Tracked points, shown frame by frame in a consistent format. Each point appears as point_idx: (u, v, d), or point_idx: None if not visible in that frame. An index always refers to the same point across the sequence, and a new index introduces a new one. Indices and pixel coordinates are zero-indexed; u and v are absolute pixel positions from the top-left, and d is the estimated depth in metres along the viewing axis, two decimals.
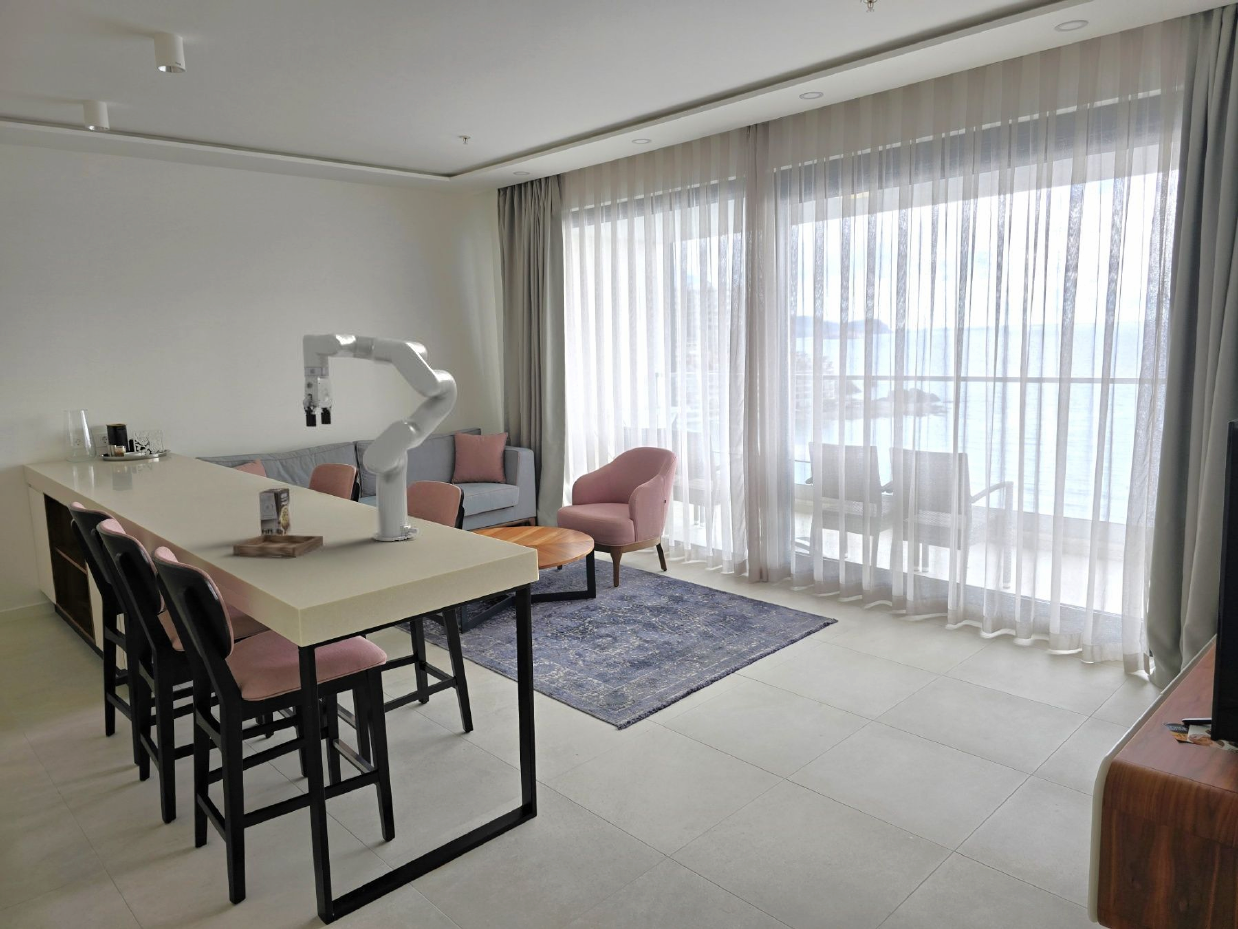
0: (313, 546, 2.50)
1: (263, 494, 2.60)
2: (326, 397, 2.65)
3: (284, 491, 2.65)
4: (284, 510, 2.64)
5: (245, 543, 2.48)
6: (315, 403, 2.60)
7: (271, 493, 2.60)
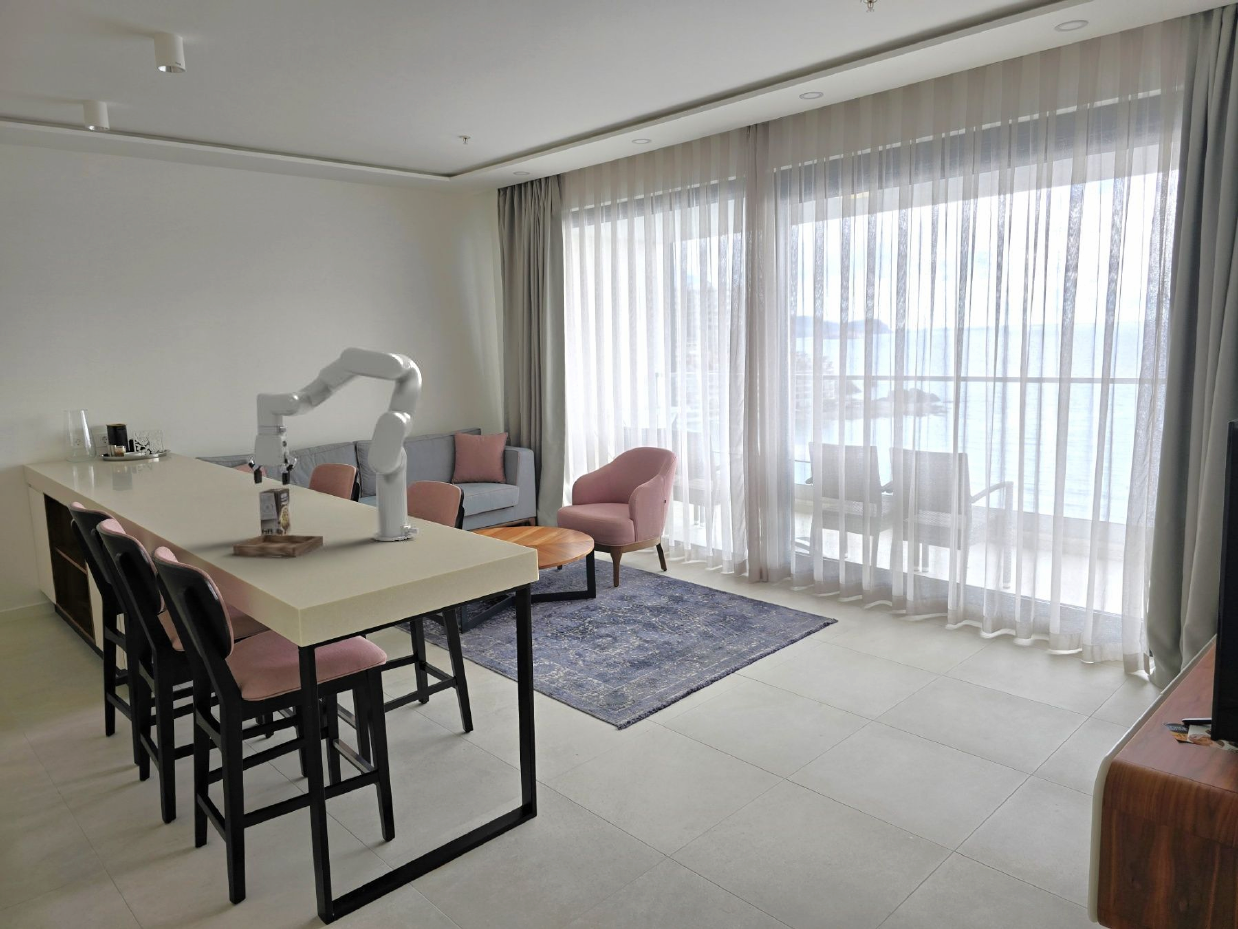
0: (313, 546, 2.50)
1: (263, 494, 2.60)
2: None
3: (284, 491, 2.65)
4: (284, 510, 2.64)
5: (245, 543, 2.48)
6: (288, 461, 2.64)
7: (271, 493, 2.60)
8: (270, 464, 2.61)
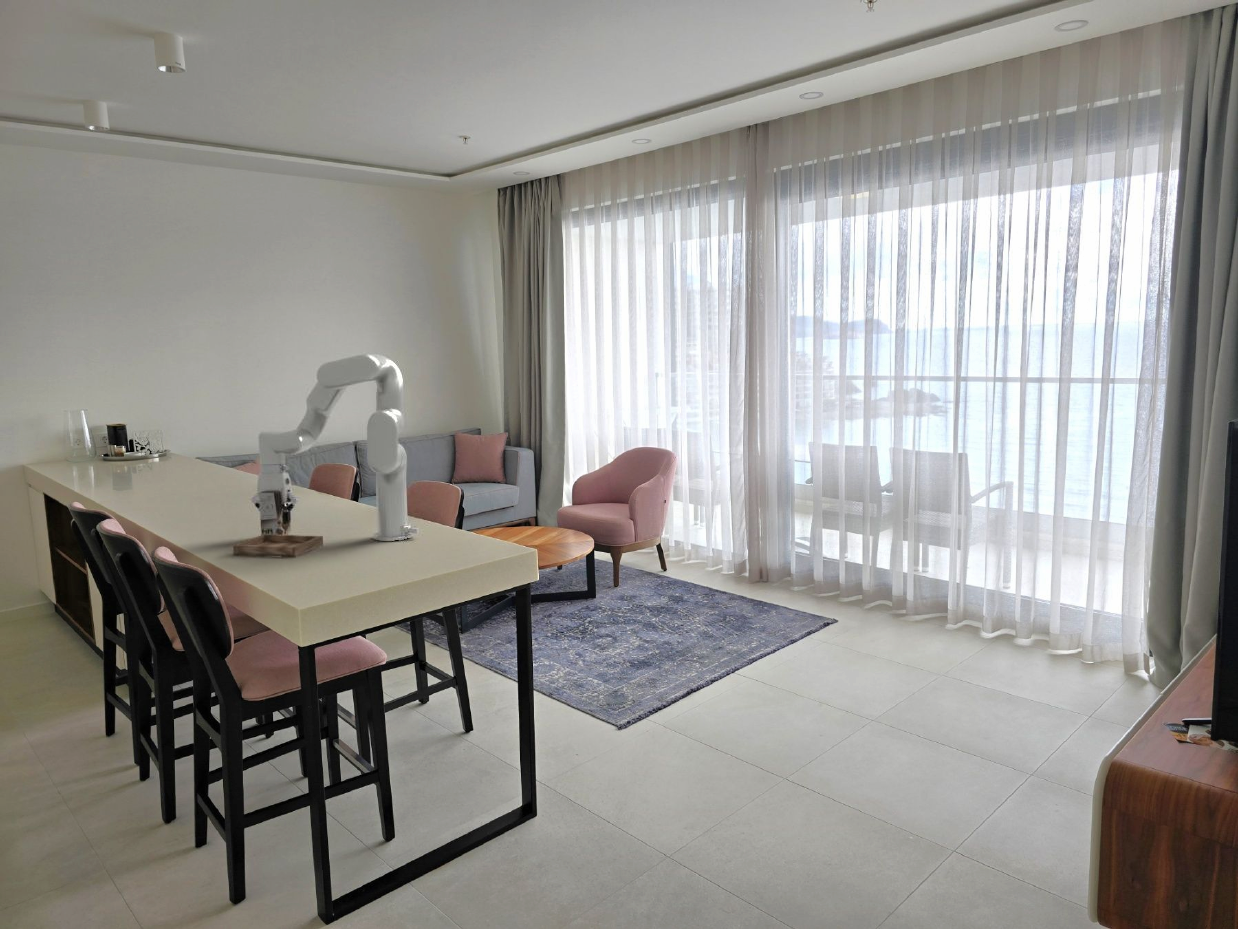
0: (313, 546, 2.50)
1: (263, 494, 2.60)
2: None
3: None
4: None
5: (245, 543, 2.48)
6: None
7: (271, 493, 2.60)
8: None
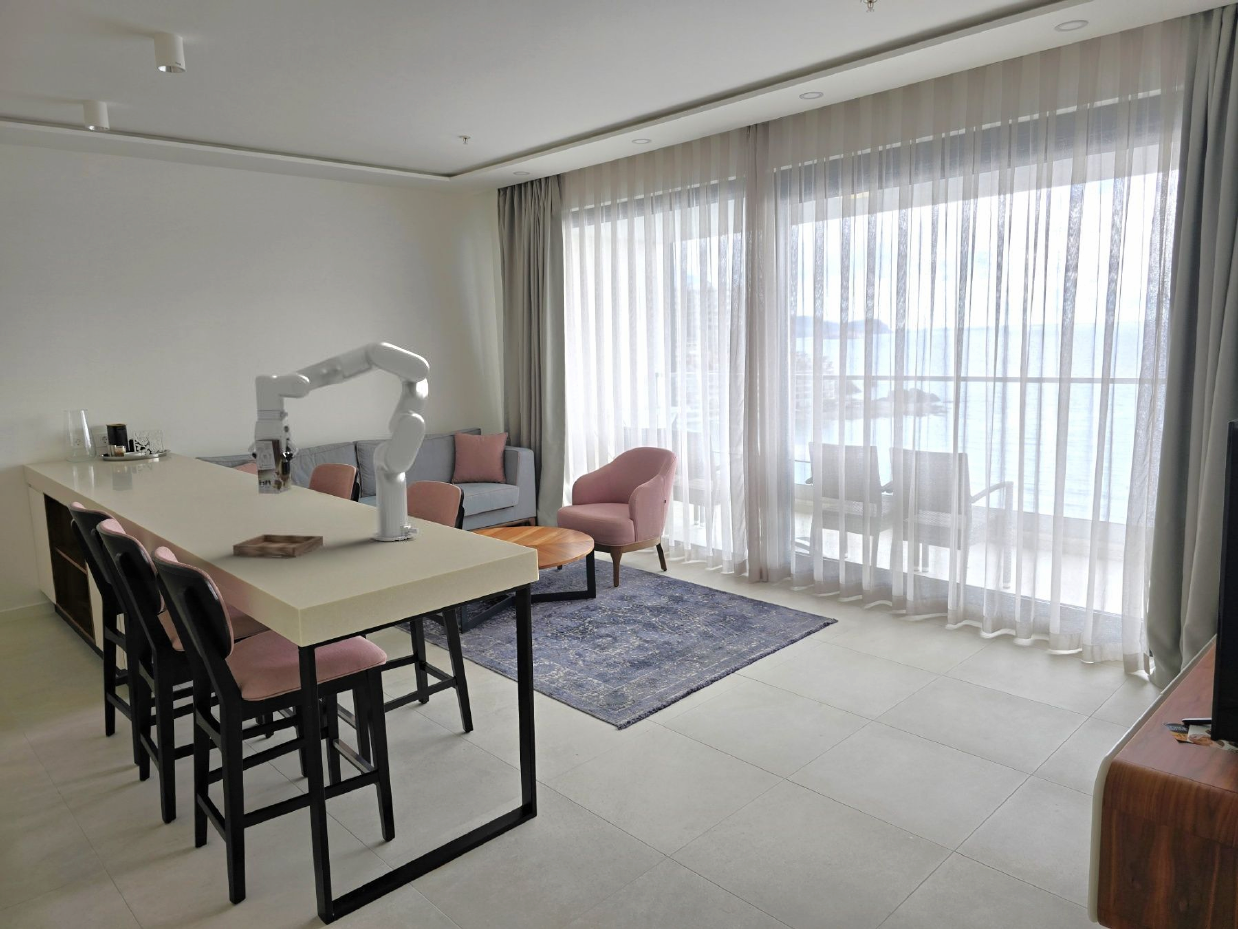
0: (313, 546, 2.50)
1: (260, 442, 2.41)
2: None
3: None
4: None
5: (245, 543, 2.48)
6: None
7: (269, 441, 2.41)
8: None
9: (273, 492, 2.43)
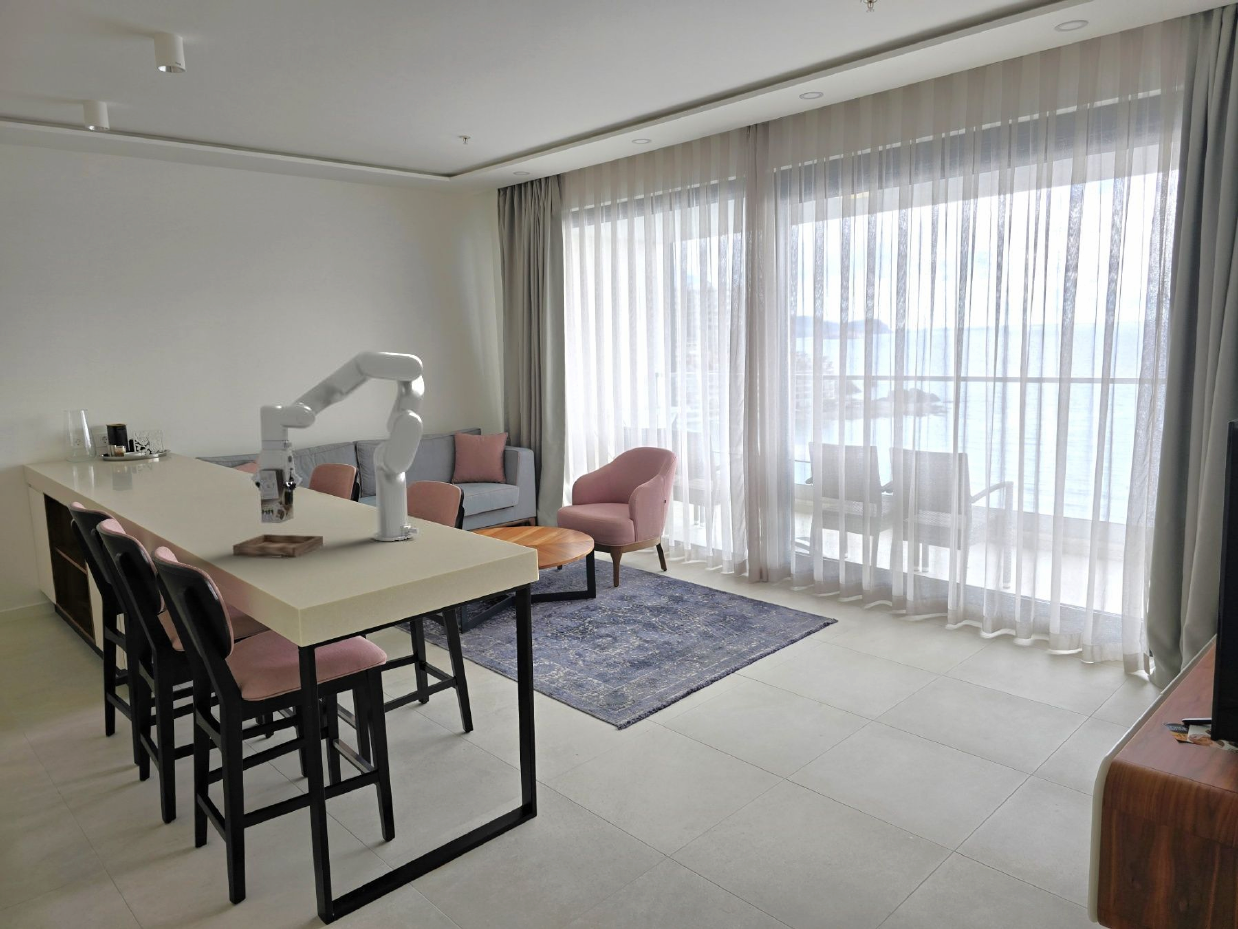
0: (313, 546, 2.50)
1: (264, 472, 2.43)
2: None
3: None
4: None
5: (245, 543, 2.48)
6: None
7: (272, 471, 2.43)
8: None
9: (276, 521, 2.45)
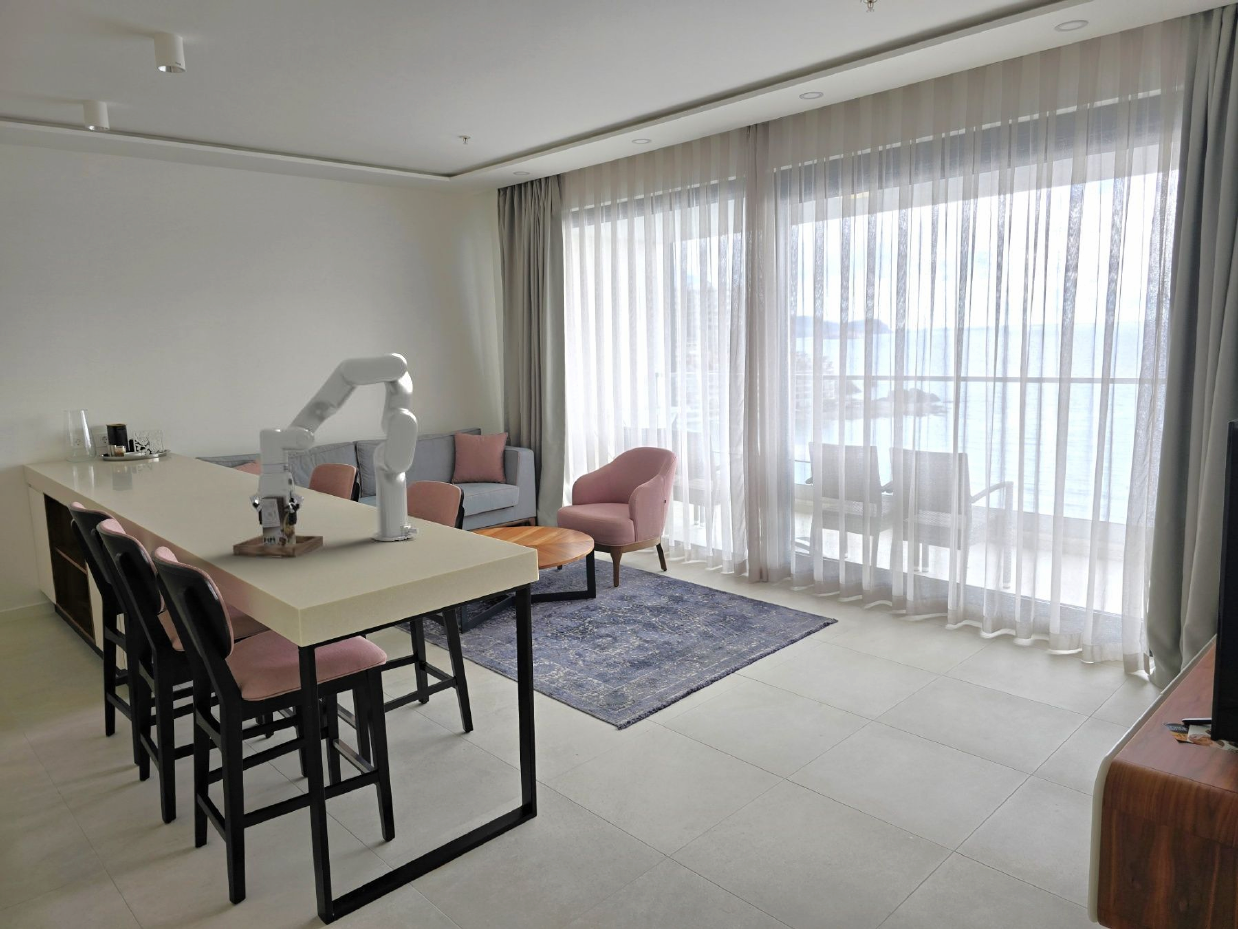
0: (313, 546, 2.50)
1: (265, 500, 2.44)
2: None
3: None
4: None
5: (245, 543, 2.48)
6: (295, 499, 2.49)
7: (274, 499, 2.44)
8: None
9: None
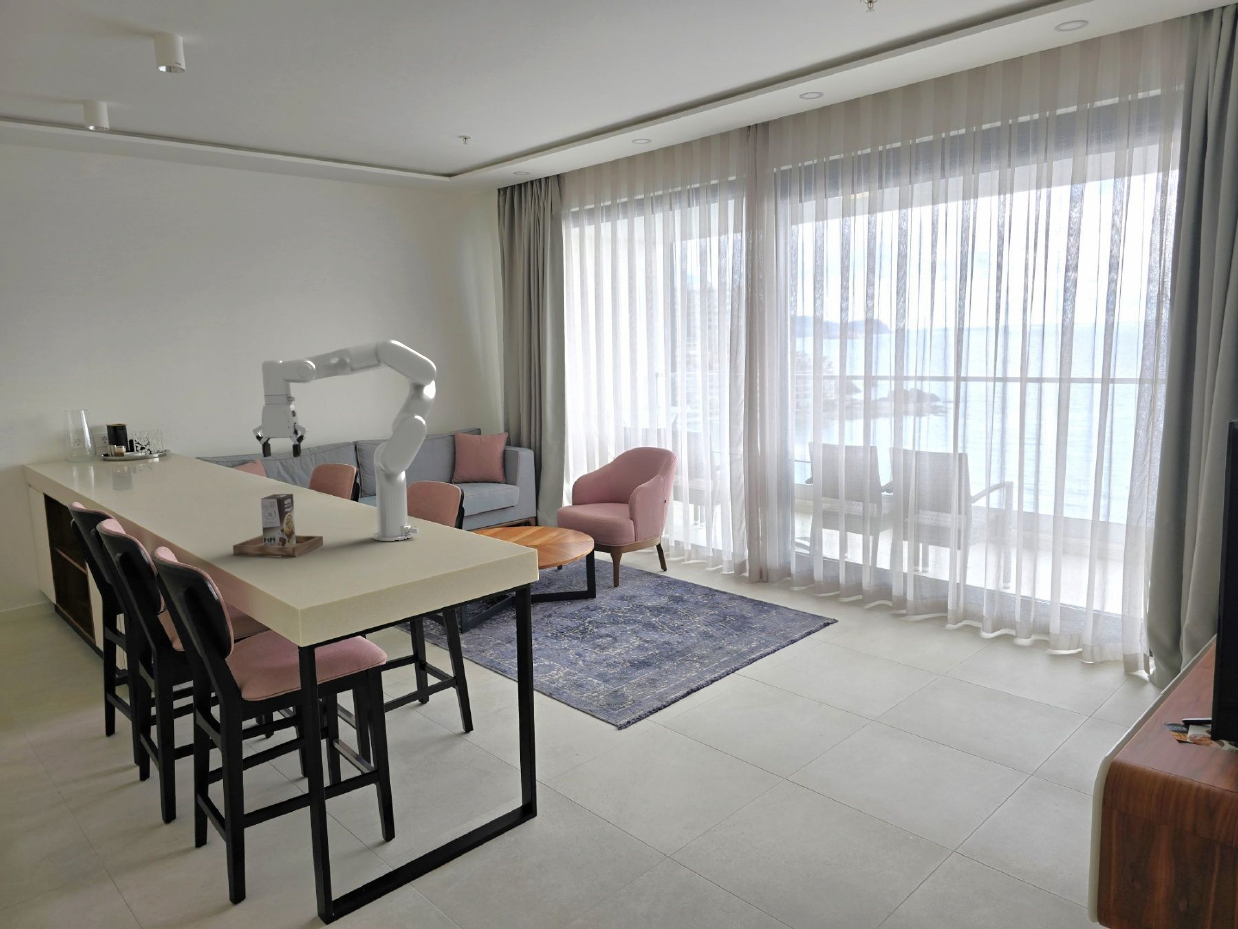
0: (313, 546, 2.50)
1: (265, 500, 2.44)
2: None
3: (288, 497, 2.48)
4: (288, 517, 2.48)
5: (245, 543, 2.48)
6: (298, 431, 2.50)
7: (274, 499, 2.43)
8: (279, 435, 2.46)
9: None
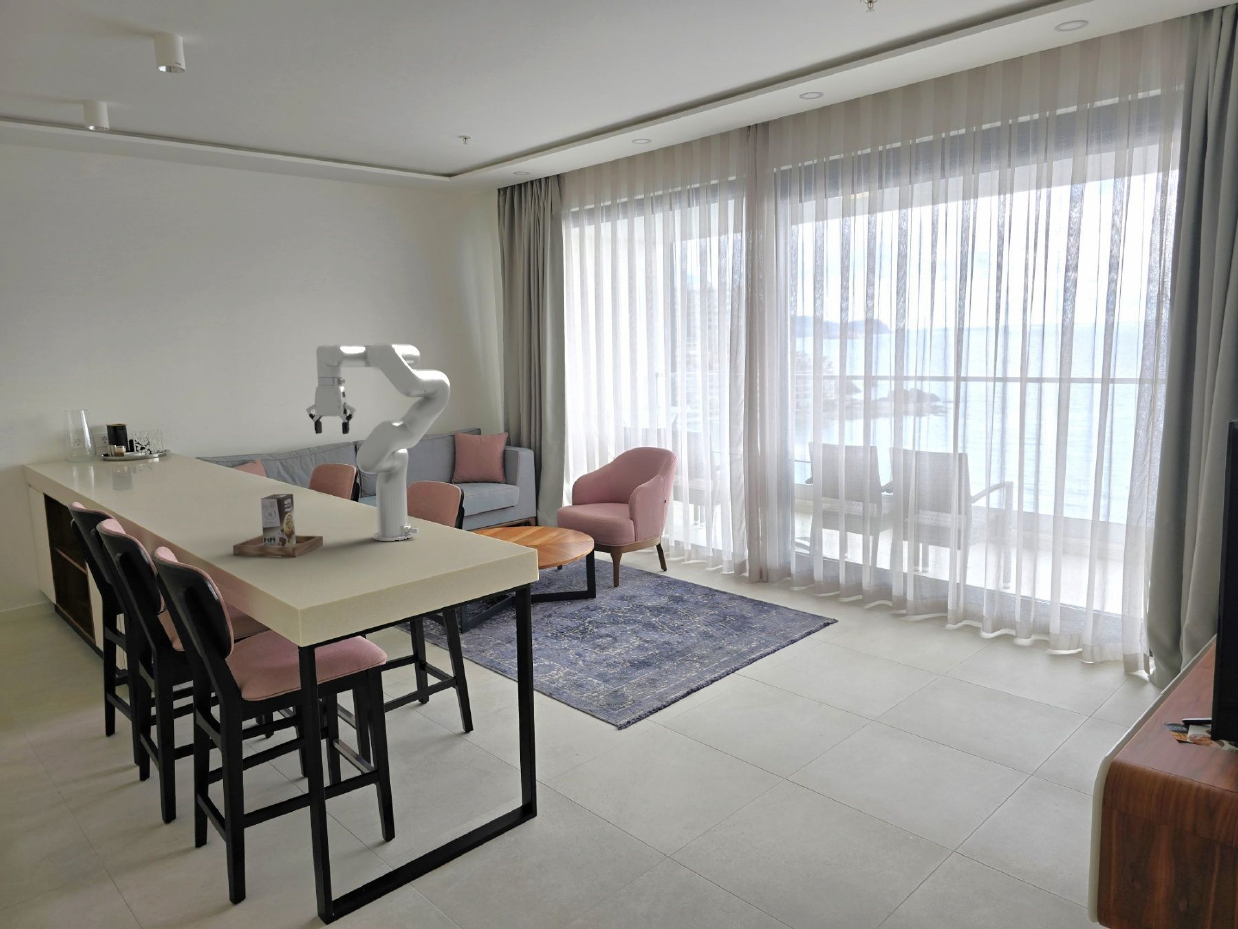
0: (313, 546, 2.50)
1: (265, 500, 2.44)
2: None
3: (288, 497, 2.48)
4: (288, 517, 2.48)
5: (245, 543, 2.48)
6: (347, 411, 2.75)
7: (274, 499, 2.43)
8: (330, 414, 2.71)
9: None
